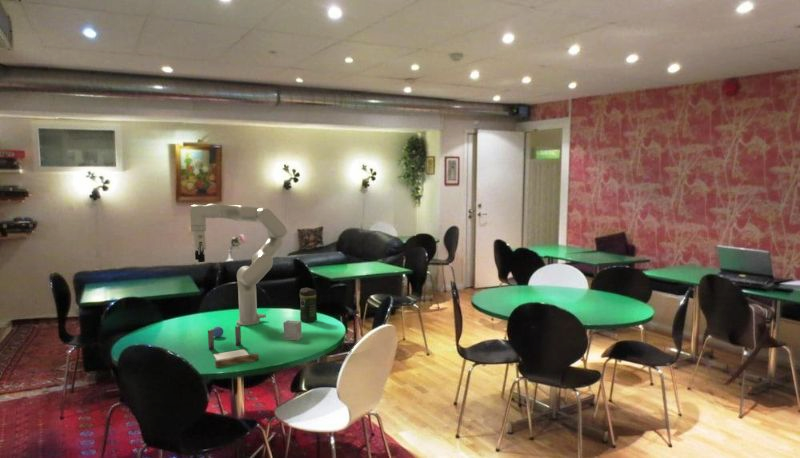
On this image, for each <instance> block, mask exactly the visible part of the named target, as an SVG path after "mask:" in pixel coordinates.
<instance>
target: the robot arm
mask: <svg viewBox="0 0 800 458" xmlns="http://www.w3.org/2000/svg"><path fill="white" fill-rule="evenodd" d="M189 215H190V216H189V218H190V221H189V222H190V232H191V233H192V234H193V248H194V257H195V258H194V259H195V260H197V262H198V263H205V262H206V257H205V256H206V255H205V251H206V250H207V241H206V233H205V232H206V231H207V222H206V219H227V220H231V221H238V222H247V223H261V225H263V226H264V227H265V228H266V233H267V239H266V241H265V243H264V244H263V245H262V246H261V247H260V248H259V249H258V250H257V252H255V253H254V254H253V255H252V258H251V264H250V265H243V266H241V267H239V268H238V270H237V272H236V280H237V290H238V291H237V293H238V316H239V318H238V319H237V320H236V324H237V326H252V325H257V324H259V323H261V319H264V318H266V317H267V314H266V313H260V314H259V313H258V308H257V306H258V303H257V285H256V284H258V283H259V282H260V281H261V280H262V279H263V278H264V277H265V276H266V274H267V273H268V272H269V271H271V269H272V267H273V265H274V259H273V258H274V257H275V256H276V255H277V254H278V252H279V251H280V249H281V247H282V244H283V239H284V238H285V237H286V235H287V234H288V233H287V232H288V230H287V227H286V225H285V224H284V223H283V222H282V221H281V220H280V219H279V217H278V216H277V215H275V213H274V212H273V211H272V210H271V209H270V208H267V207H261V206H251V205H250V206H249V205H238V204H234V205H233V204H231V205H230V204H219V203H207V204H206V205H205V204H204V205H203V204H192V205H190V206H189Z"/></svg>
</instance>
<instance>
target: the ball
mask: <svg viewBox="0 0 800 458" xmlns="http://www.w3.org/2000/svg"><path fill="white" fill-rule="evenodd" d="M212 330H213V331H214V338H221V337H222V336H223V334H224V329H223V327H222V326H214V328H213V329H212Z"/></svg>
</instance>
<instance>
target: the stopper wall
mask: <svg viewBox="0 0 800 458" xmlns="http://www.w3.org/2000/svg"><path fill="white" fill-rule="evenodd" d="M259 359H260V358H259V353H257V352H256V353H251V354H249V355H244V356H238V357H232V358H226V359H220V360H216V359H215V360H214V366H215V368H219V367H220V368H221V367H225V366H226V367H227V366H231V365H233V366H234V365H238V364H239V365H240V364H243V363H249V362H255V361H259Z"/></svg>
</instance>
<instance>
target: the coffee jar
mask: <svg viewBox="0 0 800 458" xmlns="http://www.w3.org/2000/svg"><path fill="white" fill-rule="evenodd" d="M299 299H300V301H299V302H300V304H299V306H300V310H299V311H300V312H299V313H300V314H299V320H300V321H301V322H304V323H307V324H308V323H311V324H312V323H315V322H317V321H318V315H317V313H318V312H317V291H316V289H313V288H310V287H302V288H301V289H300V290H299Z"/></svg>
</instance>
